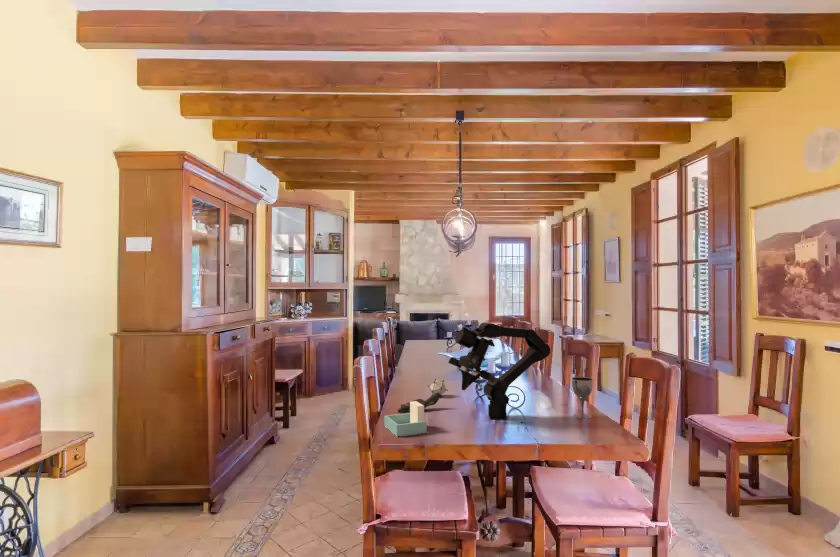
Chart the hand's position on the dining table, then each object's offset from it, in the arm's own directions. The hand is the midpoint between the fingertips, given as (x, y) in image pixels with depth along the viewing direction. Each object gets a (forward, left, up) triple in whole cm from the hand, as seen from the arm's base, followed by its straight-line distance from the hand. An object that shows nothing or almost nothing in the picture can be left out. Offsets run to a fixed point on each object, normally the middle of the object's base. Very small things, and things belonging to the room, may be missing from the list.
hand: (462, 390), depth 185 cm
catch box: (+21, +12, -12) cm, 27 cm away
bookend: (+20, +12, -12) cm, 26 cm away
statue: (+18, -15, -12) cm, 26 cm away
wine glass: (-48, -9, -12) cm, 50 cm away
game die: (+11, -39, -12) cm, 43 cm away
